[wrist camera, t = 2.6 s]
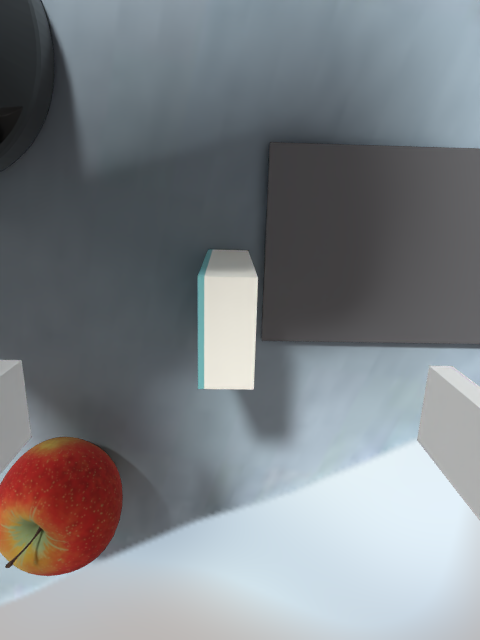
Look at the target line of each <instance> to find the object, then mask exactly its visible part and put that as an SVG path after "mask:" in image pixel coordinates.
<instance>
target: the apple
mask: <svg viewBox="0 0 480 640" xmlns="http://www.w3.org/2000/svg"><path fill="white" fill-rule="evenodd" d="M122 500H123V495H122V483H121V479H120V475H119V472H118V470H117V467H116V465H115V463H114V462H113V461H112V459H111V458H110V457H109V455H108V454H107V453H106V452H105V451H103V450H102V449H101V448H99V447H98V446H96V445H94V444H92V443H90V442H88V441H85V440H83V439H79V438H74V437H57V438H53V439H49V440H46V441H44V442H42V443H39V444H38V445H36V446H34V447H33V448H31V449H30V450H28V451H27V452H26V453H25V454H24V455H22V456H21V457H20V458H19V459H18V460H17V461H16V463H15V464H14V465H13V466H12V467H11V469H10V470H9V471H8V473H7V474H6V476H5V477H4V479H3V481H2V482H1V484H0V552H1V554H2V555H3V556H4V557H5V558H6V559H7V560H8V561H9V563H8V564H6V566H5V567H6V568H10V567H11V566H12V565H14V566H15V567H17V568H19V569H20V570H23V571H25V572H27V573H31V574H35V575H43V576H52V575H60V574H65V573H69V572H72V571H75V570H78V569H80V568H82V567H84V566H86V565H87V564H89V563H90V562H92V561H93V560H94V559H96V558H97V557H98V556H99V555H100V554H101V553H102V552H103V551H104V550H105V548H106V547H107V545H108V544H109V542H110V541H111V539H112V537H113V536H114V533H115V531H116V528H117V526H118V523H119V520H120V515H121V509H122Z"/></svg>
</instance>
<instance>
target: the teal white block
mask: <svg viewBox="0 0 480 640" xmlns="http://www.w3.org/2000/svg"><path fill="white" fill-rule="evenodd" d="M257 291H258V276H257V273H256V271H255V268H254V265H253V262H252V260H251V257H250V254H249V251H248V250H213V249H208V251H207V254H206V256H205V259H204V261H203V264H202V266H201V269H200V272H199V274H198V389H251V390H254V370H255V343H256V317H257Z"/></svg>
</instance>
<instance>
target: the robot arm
mask: <svg viewBox="0 0 480 640" xmlns="http://www.w3.org/2000/svg"><path fill="white" fill-rule="evenodd" d="M53 83H54V52H53V44H52V38H51V33H50V29H49V25H48V21H47V18H46V14H45V11H44V8H43V6H42V3H41V1H40V0H0V172H1V171H2V170H4V169H5V168H7V167H8V166H10V165H11V164H12V163H14V162H15V161H16V160H17V159H18V158H19V157H20V156H21V155H22V154H23V153H24V152H25V151H26V150H27V149H28V148H29V146H30V145H31V144H32V142H33V141H34V139H35V138H36V136H37V134H38V133H39V131H40V129H41V127H42V125H43V123H44V120H45V118H46V115H47V112H48V109H49V105H50V101H51V97H52V91H53ZM31 437H32V436H31V428H30V421H29V413H28V405H27V398H26V390H25V382H24V374H23V367H22V360H0V474H1V473H2V472H3V470H4V469H5V468H6V467H7V466H8V464H9V463H10V462H11V461H12V460H13V458H14V457H15V456H16V455H17V454H18V452H19V451H20V450H21V449H22V448H23V446H24V445H25V444H26V443H27V442H28V440H29V439H30V438H31ZM417 441H418V442H419V443H420V444H421V446H422V447H423V448H424V450H425V451H426V452H427V453H428V455H429V456H430V457H431V458H432V460H433V461H434V462H435V463H436V465H437V466H438V468H439V469H440V470H441V471H442V473H443V474H444V475H445V476H446V478H447V479H448V480H449V482H450V483H451V484H452V485H453V487H454V488H455V489H456V491H457V492H458V493H459V494H460V496H461V497H462V498H463V500H464V501H465V502H466V503H467V505H468V506H469V507H470V509H471V510H472V511H473V512H474V513H475V515H476V516H477V517H478V519H479V520H480V387H479V386H478V385H477V384H475V383H474V382H473V381H471V380H470V379H469V378H467V377H466V376H465V375H463V374H462V373H461V372H459V371H458V370H457V369H455V368H454V367H453V366H429V370H428V376H427V382H426V388H425V395H424V401H423V407H422V413H421V419H420V425H419V432H418V438H417Z"/></svg>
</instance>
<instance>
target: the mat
mask: <svg viewBox="0 0 480 640" xmlns="http://www.w3.org/2000/svg"><path fill="white" fill-rule="evenodd" d="M261 338H262V341H318V342H383V343H448V344H480V149H475V148H442V147H410V146H377V145H344V144H312V143H279V142H270V145H269V168H268V192H267V216H266V240H265V263H264V287H263V311H262V335H261Z"/></svg>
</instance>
